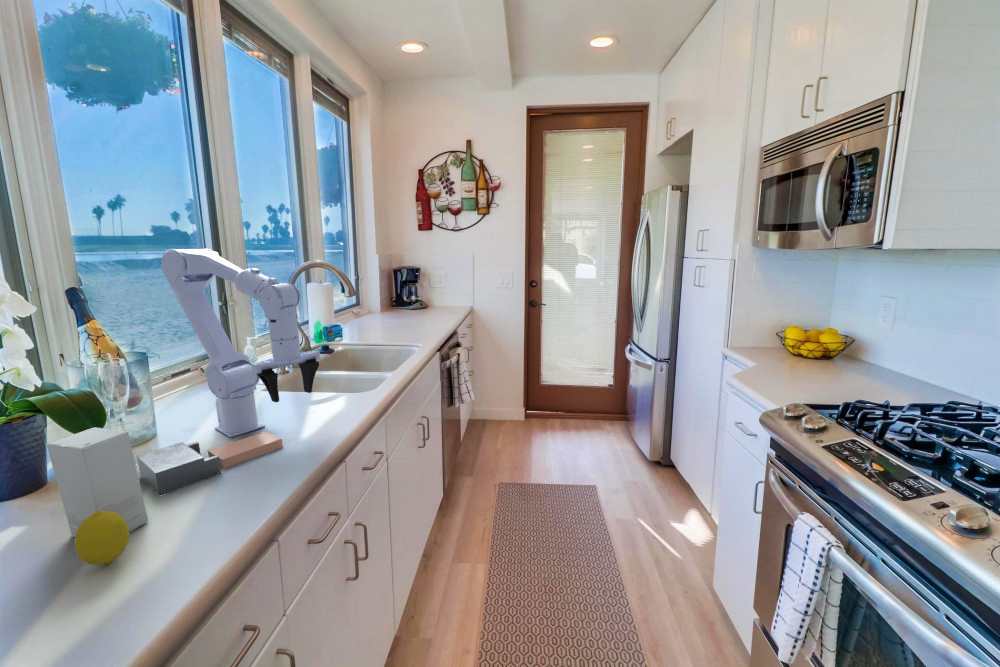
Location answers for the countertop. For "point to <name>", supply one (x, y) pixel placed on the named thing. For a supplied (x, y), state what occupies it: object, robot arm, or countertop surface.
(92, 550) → the lemon
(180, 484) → the low gray notched block
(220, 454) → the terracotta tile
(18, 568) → the countertop surface
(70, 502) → the skincare box
